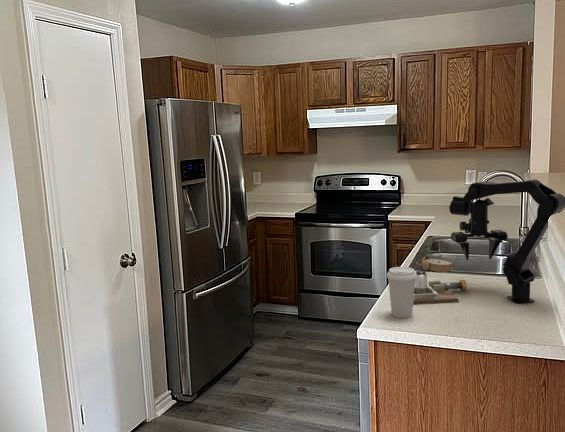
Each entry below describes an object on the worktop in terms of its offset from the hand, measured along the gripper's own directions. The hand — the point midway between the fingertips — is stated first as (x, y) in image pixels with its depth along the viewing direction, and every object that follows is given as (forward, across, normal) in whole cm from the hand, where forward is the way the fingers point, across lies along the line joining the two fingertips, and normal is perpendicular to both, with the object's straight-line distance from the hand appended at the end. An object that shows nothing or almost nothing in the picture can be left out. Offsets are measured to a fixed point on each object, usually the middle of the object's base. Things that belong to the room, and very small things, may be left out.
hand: (478, 259), depth 185 cm
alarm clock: (+12, +5, -33) cm, 36 cm away
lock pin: (+12, +10, 0) cm, 15 cm away
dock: (+12, +19, +4) cm, 23 cm away
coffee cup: (+12, +34, +20) cm, 41 cm away
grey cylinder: (+11, +23, +6) cm, 26 cm away
